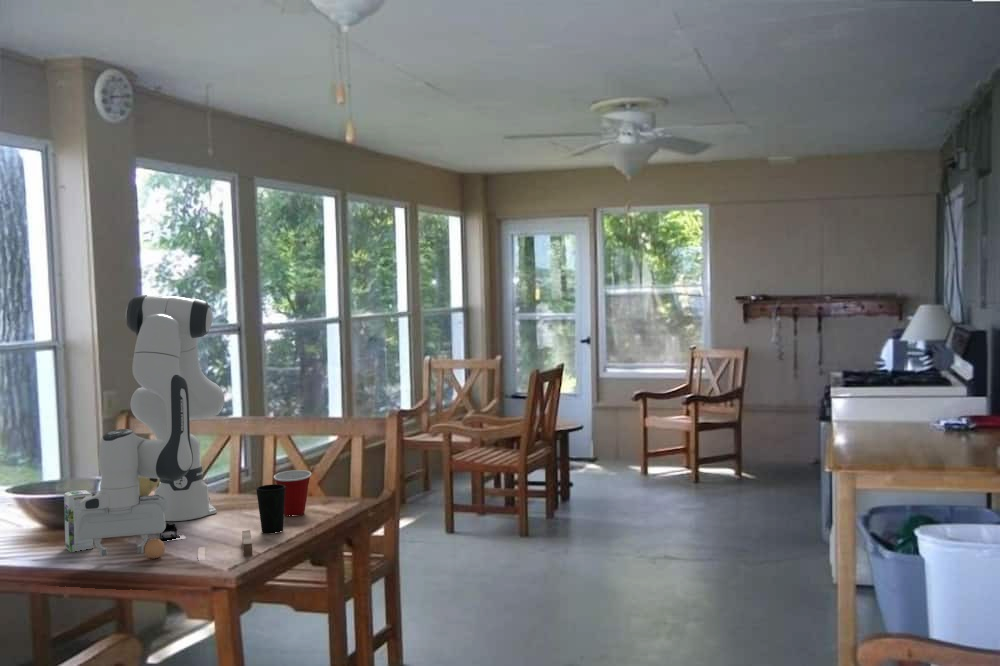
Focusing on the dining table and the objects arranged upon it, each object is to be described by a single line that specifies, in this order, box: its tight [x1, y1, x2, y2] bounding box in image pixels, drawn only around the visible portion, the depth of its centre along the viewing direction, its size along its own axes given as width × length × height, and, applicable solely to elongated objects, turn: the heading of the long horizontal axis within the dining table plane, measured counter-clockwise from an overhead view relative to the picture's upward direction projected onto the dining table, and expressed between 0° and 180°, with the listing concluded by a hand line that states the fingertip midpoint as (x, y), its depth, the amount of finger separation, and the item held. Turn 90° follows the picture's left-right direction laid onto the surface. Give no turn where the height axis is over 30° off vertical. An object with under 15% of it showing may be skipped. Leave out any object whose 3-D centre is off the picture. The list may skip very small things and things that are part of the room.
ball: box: [144, 538, 166, 560], centre depth 229 cm, size 5×5×5 cm
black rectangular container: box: [151, 521, 180, 542], centre depth 248 cm, size 12×7×5 cm, turn 118°
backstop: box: [241, 529, 253, 557], centre depth 235 cm, size 14×2×3 cm, turn 17°
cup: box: [256, 483, 286, 534], centre depth 252 cm, size 8×8×12 cm
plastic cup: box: [273, 469, 312, 517], centre depth 271 cm, size 11×11×12 cm
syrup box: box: [63, 489, 95, 553], centre depth 239 cm, size 6×6×14 cm
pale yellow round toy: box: [138, 477, 161, 496], centre depth 299 cm, size 10×12×11 cm
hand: (122, 554), depth 227 cm, fingers open, 7 cm apart
